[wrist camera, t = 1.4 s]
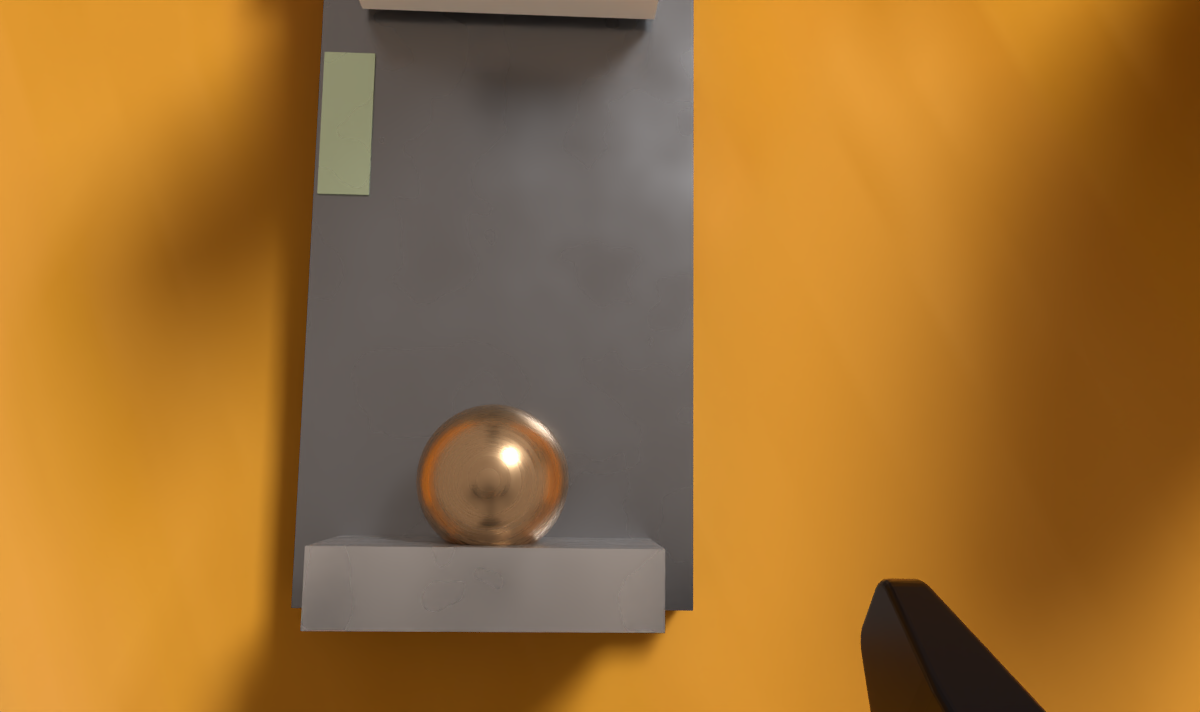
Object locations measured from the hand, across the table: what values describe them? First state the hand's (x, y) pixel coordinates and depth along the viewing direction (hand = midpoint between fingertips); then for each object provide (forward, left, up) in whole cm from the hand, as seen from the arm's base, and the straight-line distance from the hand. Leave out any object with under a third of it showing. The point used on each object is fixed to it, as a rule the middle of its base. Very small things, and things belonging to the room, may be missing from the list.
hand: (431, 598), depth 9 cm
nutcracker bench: (+7, +6, -13) cm, 16 cm away
